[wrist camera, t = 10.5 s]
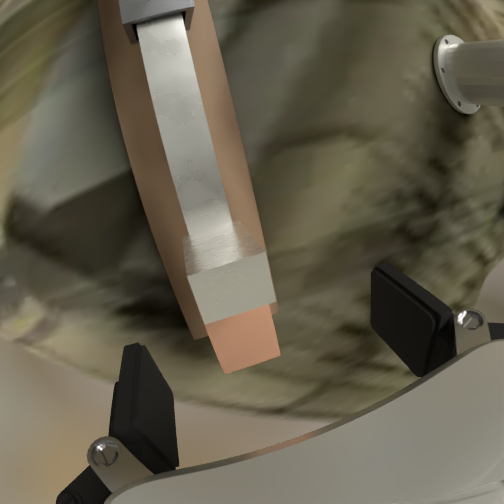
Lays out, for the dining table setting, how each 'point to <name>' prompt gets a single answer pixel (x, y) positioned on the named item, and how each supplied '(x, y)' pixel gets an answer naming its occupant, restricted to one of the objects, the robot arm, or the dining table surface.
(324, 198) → the dining table surface
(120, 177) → the dining table surface
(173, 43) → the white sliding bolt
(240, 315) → the socket
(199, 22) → the base board
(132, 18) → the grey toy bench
